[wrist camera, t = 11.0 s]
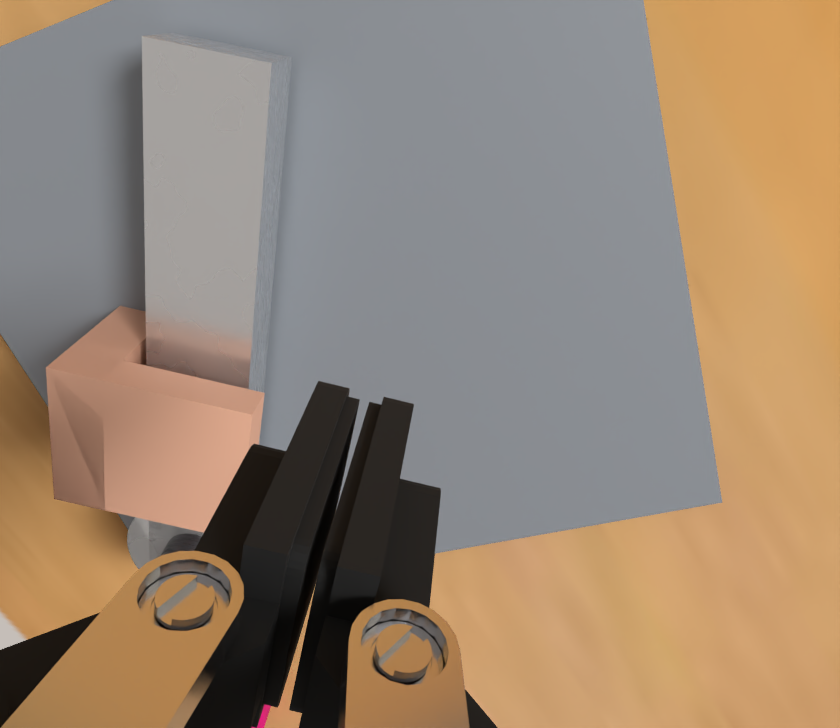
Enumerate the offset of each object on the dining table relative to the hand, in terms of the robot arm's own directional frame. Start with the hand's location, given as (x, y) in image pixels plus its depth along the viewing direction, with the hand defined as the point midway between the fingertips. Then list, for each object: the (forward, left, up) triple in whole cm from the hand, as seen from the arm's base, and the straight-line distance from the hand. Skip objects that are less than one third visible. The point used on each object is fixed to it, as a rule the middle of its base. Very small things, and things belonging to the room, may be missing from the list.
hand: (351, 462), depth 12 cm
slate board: (-3, +5, -17) cm, 18 cm away
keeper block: (-5, +12, -17) cm, 21 cm away
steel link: (-3, +10, -15) cm, 18 cm away
